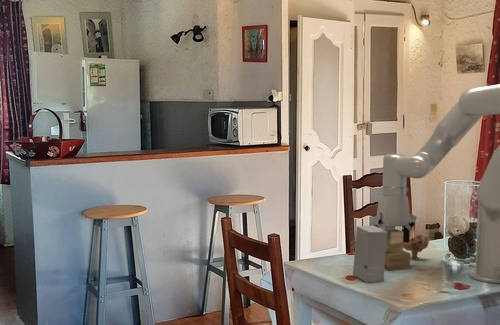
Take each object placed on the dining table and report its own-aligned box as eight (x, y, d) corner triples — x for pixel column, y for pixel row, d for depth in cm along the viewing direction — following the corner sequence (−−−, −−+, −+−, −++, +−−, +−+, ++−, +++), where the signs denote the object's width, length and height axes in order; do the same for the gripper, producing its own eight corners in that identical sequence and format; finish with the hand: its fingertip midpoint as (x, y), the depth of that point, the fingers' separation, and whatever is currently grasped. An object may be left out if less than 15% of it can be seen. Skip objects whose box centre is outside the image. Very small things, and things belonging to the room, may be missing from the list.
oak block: (402, 252, 196) (403, 231, 196) (391, 253, 195) (391, 232, 194) (394, 249, 201) (395, 228, 200) (383, 250, 199) (383, 229, 198)
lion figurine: (430, 259, 207) (431, 234, 207) (424, 262, 203) (425, 236, 203) (392, 252, 217) (392, 228, 216) (384, 255, 213) (385, 230, 212)
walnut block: (409, 268, 196) (410, 253, 195) (389, 270, 193) (389, 255, 193) (395, 262, 203) (395, 247, 203) (375, 264, 200) (375, 249, 200)
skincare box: (352, 275, 187) (353, 225, 186) (372, 273, 190) (373, 224, 188) (366, 283, 179) (367, 231, 178) (387, 281, 182) (388, 229, 180)
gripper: (409, 189, 202) (407, 238, 204) (365, 191, 196) (364, 243, 198) (423, 192, 196) (421, 243, 197) (378, 194, 189) (376, 248, 191)
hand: (392, 243), depth 197 cm, fingers open, 9 cm apart
